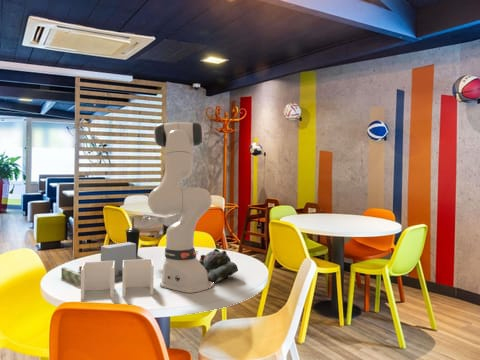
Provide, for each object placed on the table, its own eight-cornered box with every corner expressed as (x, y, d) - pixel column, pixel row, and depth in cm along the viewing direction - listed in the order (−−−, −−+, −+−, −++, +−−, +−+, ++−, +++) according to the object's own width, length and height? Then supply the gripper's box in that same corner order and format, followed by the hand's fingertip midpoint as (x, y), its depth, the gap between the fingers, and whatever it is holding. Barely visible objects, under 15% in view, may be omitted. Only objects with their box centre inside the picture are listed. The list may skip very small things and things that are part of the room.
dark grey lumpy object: (209, 285, 155) (196, 253, 159) (204, 288, 166) (192, 258, 170) (242, 271, 161) (229, 240, 164) (235, 275, 171) (223, 246, 175)
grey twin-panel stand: (151, 286, 154) (151, 258, 154) (153, 295, 144) (153, 265, 144) (84, 290, 147) (84, 262, 147) (80, 300, 137) (80, 269, 137)
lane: (138, 272, 173) (138, 263, 173) (78, 285, 153) (78, 275, 153) (119, 266, 184) (119, 257, 184) (61, 277, 164) (61, 267, 164)
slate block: (135, 269, 178) (136, 243, 177) (107, 275, 168) (107, 248, 167) (128, 267, 182) (129, 242, 182) (100, 273, 172) (100, 246, 171)
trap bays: (130, 278, 163) (130, 275, 163) (111, 283, 157) (111, 279, 157) (98, 266, 182) (98, 263, 182) (79, 270, 176) (79, 266, 176)
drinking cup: (137, 257, 201) (138, 219, 201) (123, 257, 201) (123, 219, 201) (141, 254, 209) (142, 217, 208) (127, 254, 209) (128, 217, 208)
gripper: (157, 209, 202) (133, 211, 191) (182, 212, 188) (158, 215, 178) (157, 221, 202) (133, 224, 192) (182, 225, 188) (158, 228, 178)
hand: (145, 219), depth 184 cm, fingers open, 3 cm apart
